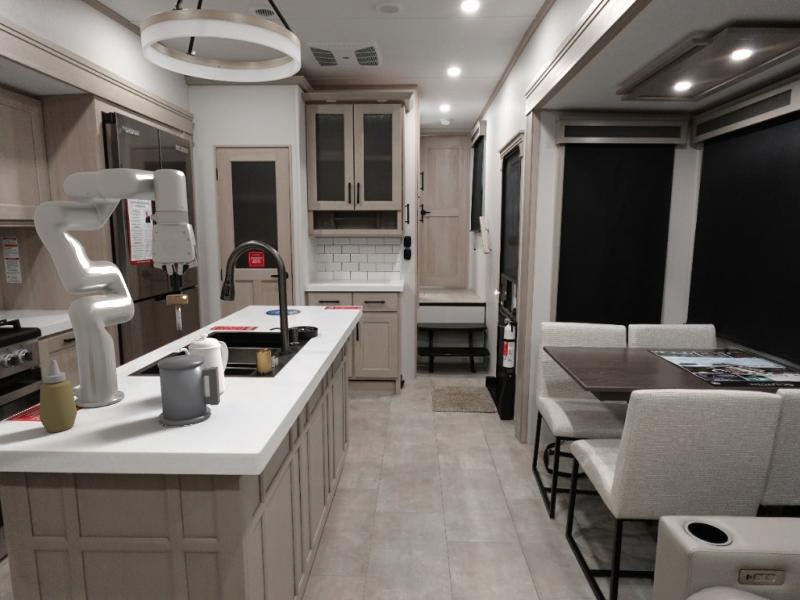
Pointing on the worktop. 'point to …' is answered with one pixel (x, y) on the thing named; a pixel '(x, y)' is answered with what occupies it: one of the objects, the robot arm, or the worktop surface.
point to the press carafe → (186, 390)
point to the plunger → (177, 306)
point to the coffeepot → (210, 357)
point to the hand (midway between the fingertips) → (177, 289)
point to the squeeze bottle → (57, 401)
